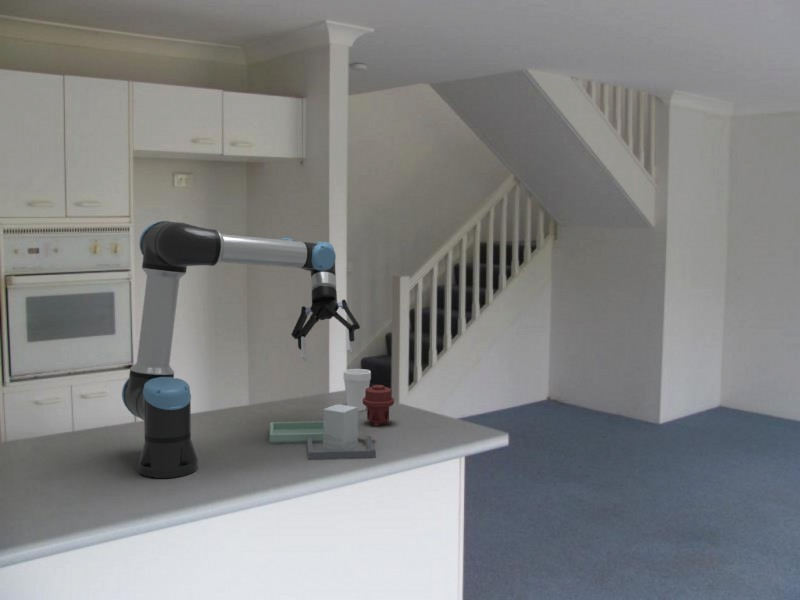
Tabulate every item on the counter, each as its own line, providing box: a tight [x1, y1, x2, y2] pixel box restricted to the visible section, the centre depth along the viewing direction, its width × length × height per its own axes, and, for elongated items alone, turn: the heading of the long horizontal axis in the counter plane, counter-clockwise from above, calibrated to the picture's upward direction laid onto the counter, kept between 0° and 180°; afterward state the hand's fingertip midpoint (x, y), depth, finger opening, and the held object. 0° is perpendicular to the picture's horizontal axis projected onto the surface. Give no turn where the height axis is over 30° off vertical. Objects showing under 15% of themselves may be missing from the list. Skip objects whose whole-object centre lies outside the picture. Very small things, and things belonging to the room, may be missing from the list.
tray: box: [269, 420, 323, 445], centre depth 249 cm, size 20×14×3 cm
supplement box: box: [322, 403, 359, 451], centre depth 234 cm, size 7×7×13 cm
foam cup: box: [343, 368, 372, 412], centre depth 283 cm, size 10×9×13 cm
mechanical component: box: [363, 384, 395, 427], centre depth 264 cm, size 12×10×10 cm
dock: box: [306, 435, 377, 460], centre depth 235 cm, size 18×15×2 cm
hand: (326, 355), depth 239 cm, fingers open, 13 cm apart
